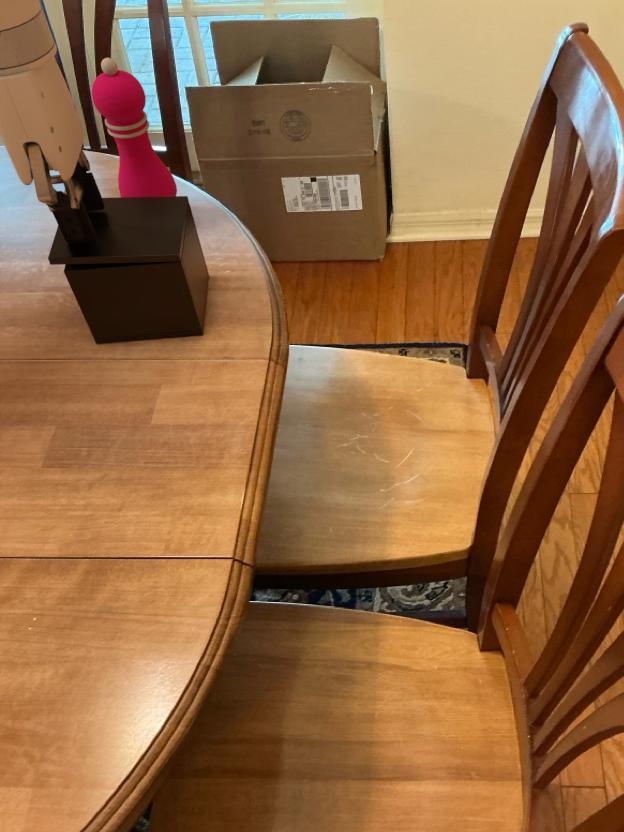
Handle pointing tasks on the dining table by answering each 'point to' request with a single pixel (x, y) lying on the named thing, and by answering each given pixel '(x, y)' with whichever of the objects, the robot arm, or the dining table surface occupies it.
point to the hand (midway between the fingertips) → (86, 223)
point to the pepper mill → (130, 133)
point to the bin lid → (127, 231)
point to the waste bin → (144, 295)
